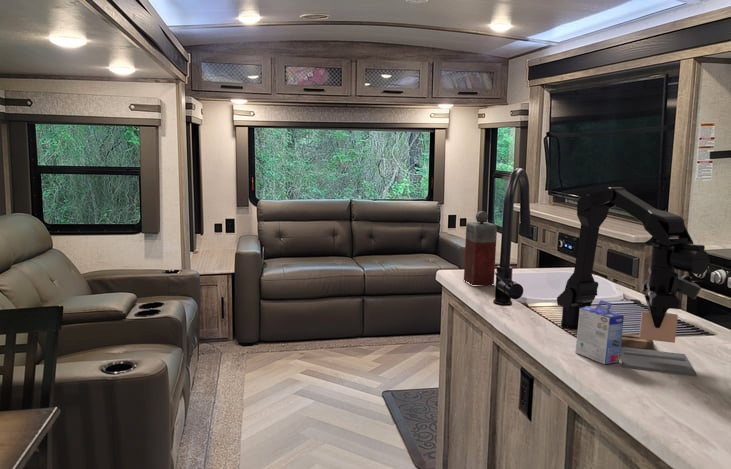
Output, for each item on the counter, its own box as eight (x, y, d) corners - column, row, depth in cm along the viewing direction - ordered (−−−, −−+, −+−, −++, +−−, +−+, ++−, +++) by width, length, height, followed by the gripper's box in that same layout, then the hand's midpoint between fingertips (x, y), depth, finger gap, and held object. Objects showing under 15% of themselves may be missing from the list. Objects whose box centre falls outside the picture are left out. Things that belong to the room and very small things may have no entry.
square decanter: (482, 279, 237) (485, 209, 233) (494, 285, 227) (498, 212, 222) (461, 279, 236) (464, 209, 231) (472, 286, 225) (475, 212, 220)
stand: (604, 343, 162) (605, 337, 162) (603, 337, 167) (603, 331, 167) (653, 349, 159) (653, 342, 158) (649, 342, 164) (650, 336, 164)
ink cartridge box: (621, 362, 148) (626, 306, 146) (605, 365, 146) (610, 308, 144) (589, 350, 157) (594, 296, 155) (574, 353, 154) (578, 298, 152)
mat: (623, 367, 145) (623, 362, 145) (617, 348, 158) (618, 344, 158) (696, 376, 140) (697, 371, 140) (684, 356, 153) (685, 351, 153)
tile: (639, 338, 150) (642, 312, 149) (639, 337, 151) (641, 310, 150) (674, 342, 148) (677, 315, 147) (673, 341, 149) (676, 314, 148)
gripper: (708, 276, 136) (701, 342, 138) (691, 261, 153) (685, 320, 156) (655, 272, 139) (648, 336, 141) (644, 258, 156) (638, 315, 159)
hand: (656, 326), depth 149 cm, fingers closed on tile, 1 cm apart
